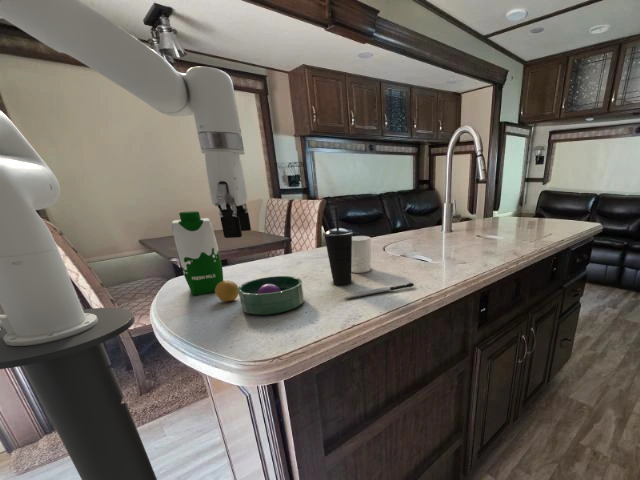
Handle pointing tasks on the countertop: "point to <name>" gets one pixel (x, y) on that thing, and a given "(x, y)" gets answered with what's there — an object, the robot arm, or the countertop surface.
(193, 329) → the countertop surface
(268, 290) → the plum ball
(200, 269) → the milk carton
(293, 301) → the bowl
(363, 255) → the white cup
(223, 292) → the ochre ball
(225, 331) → the countertop surface
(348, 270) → the drinking cup
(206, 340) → the countertop surface
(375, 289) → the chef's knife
